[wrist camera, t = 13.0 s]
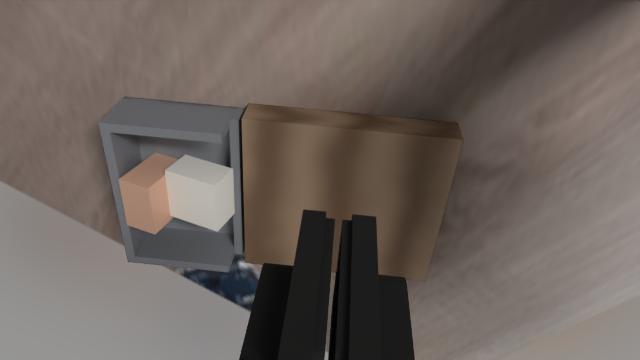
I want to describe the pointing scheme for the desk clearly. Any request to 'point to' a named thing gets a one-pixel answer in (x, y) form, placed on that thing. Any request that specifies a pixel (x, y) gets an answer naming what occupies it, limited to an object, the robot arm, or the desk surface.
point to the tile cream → (200, 192)
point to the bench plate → (346, 181)
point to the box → (176, 141)
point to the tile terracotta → (147, 194)
